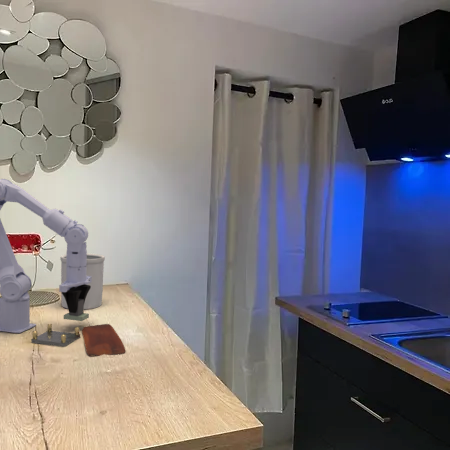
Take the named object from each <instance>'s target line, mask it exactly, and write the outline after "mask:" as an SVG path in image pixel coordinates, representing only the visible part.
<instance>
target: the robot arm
mask: <svg viewBox="0 0 450 450" xmlns="http://www.w3.org/2000/svg"><path fill="white" fill-rule="evenodd" d="M7 202H10V203H18V204H19V205H21V206H23V207H25V208H26V209H27V210H29V211H31V212H32V213H34V214H35V215H37V216H39V217H40V218H42V222H43V225H44V226H45V227H47V228H48V229H50V230H51V231H53V232H54V233H56V234H57V235H59V236H60V237H62V238H64V241H65V242H66V253H65V255H66V281H65V282H64V283H63V284H59V285H58V286H59V290H58V292H59V293H62V294H63V296H64V298H65V300H66V303H67V306H68V313H69V312H71V313H76V312H77V306H78V299H84V303H85V299H86V296H87V294H88V292H89V290H90V288H91V286H90V285H86V284H89V283H91V282H92V276H86V269H87V253H88V251H87V246H88V245H87V240H88V238H89V230H88V229H87V228H86V227H85V226H84V224H81V223H78V221H77V220H76V219H74V220H73V219H72V218H70V217H69V216H67V215H66V214H64V213H65V210H63V209H57V208H52V209H50V208H48V207H47V206H46V205H45V204H44V203H42V202H41V201H39V200H38V199H36V198H35V197H34V196H33V195H32V194H30V193H29V192H28V191H26V190H25V189H24V188H23V187H21V186H19V185H18V184H15V183H13V182H12V181H11V180H10V179H8V178H7V179H6V178H0V211H1V210H2V208H3V207H4V205H5V204H6V203H7ZM31 288H32V279H31V278H30V276H29V275H27V274H26V272H25V270H24V268H23V267H22V266H21V265H20V264H19V263H18V260H17V258H16V255H15V253H14V250H13V248H12V245H11V243H10V239H9V238H8V235H7V233H6V230H5V228H4V225H3V222H2V220H1V218H0V295H1V297H0V332H6V333H7V332H8V333H16V334H21V333H23V332H26V331H27V330H30V329H33V328H34V327H36V326H37V323H31V320H30V319H31V318H30V314H31V313H30V312H31V311H30V309H31V308H30V306H31V305H30V301H31V300H30V297H31V296H30V294H29V291H30V289H31Z"/></svg>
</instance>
